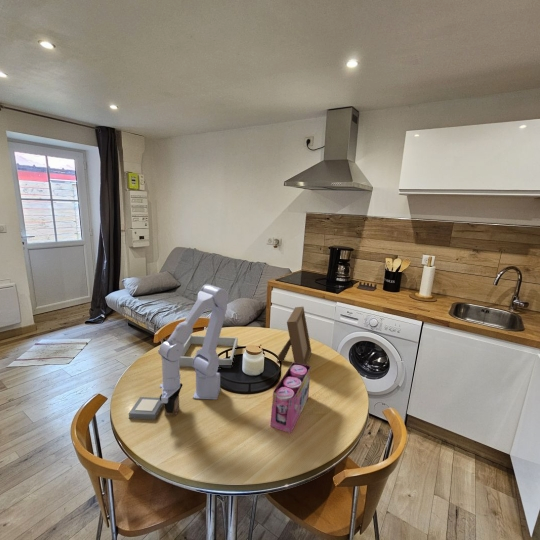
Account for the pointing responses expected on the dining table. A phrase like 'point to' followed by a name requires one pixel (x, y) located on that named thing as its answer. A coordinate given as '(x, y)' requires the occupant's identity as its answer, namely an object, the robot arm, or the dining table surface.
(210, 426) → the dining table surface
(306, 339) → the photo frame
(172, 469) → the dining table surface
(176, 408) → the walnut block
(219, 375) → the robot arm
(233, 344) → the grey corral
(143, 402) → the plate
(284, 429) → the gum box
